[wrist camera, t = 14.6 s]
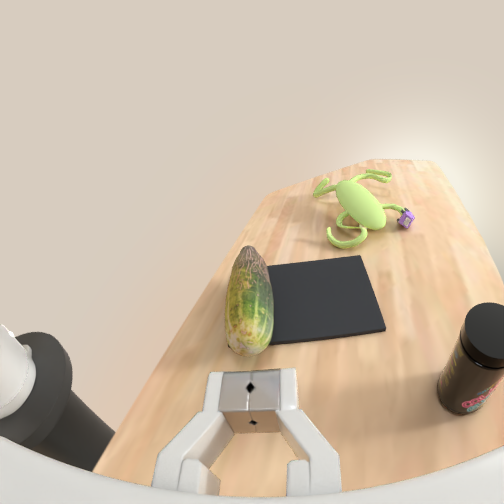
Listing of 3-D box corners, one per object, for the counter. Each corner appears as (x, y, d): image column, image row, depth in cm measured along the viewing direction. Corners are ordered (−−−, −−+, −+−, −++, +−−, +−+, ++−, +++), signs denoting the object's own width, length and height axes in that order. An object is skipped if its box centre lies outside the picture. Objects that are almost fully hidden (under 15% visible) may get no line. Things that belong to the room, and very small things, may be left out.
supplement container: (442, 423, 24) (479, 366, 18) (429, 372, 29) (454, 307, 24) (493, 408, 22) (536, 349, 17) (477, 362, 28) (508, 297, 22)
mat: (228, 347, 39) (227, 344, 38) (239, 271, 52) (238, 268, 52) (385, 331, 36) (386, 327, 36) (360, 258, 49) (360, 255, 49)
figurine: (383, 184, 71) (383, 162, 68) (429, 241, 49) (432, 213, 46) (311, 191, 74) (309, 169, 71) (330, 254, 52) (328, 224, 48)
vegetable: (208, 357, 33) (221, 255, 50) (252, 378, 35) (251, 275, 52) (244, 330, 30) (246, 229, 47) (288, 355, 33) (276, 252, 49)
